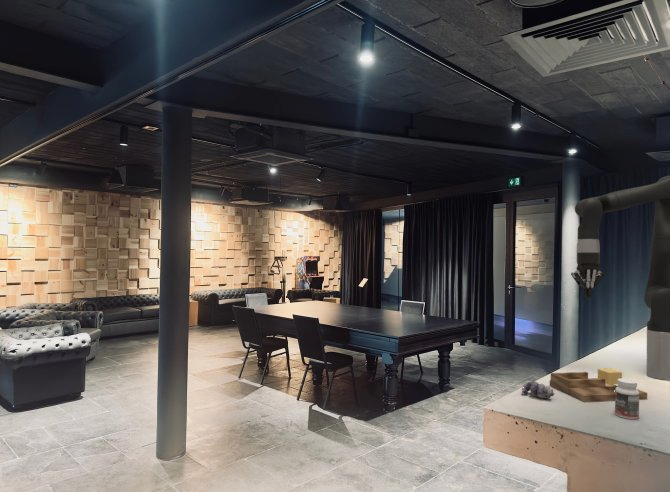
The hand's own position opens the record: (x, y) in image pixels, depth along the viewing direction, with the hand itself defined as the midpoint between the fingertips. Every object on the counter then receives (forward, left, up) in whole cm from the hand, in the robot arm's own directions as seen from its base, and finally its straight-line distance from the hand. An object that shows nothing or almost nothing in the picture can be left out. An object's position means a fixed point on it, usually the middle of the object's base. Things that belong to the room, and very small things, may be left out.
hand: (587, 297), depth 171 cm
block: (+4, +16, -27) cm, 32 cm away
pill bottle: (+19, +40, -29) cm, 53 cm away
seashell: (+34, +21, -29) cm, 50 cm away
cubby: (+16, +16, -27) cm, 35 cm away
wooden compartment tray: (+12, +19, -29) cm, 37 cm away
